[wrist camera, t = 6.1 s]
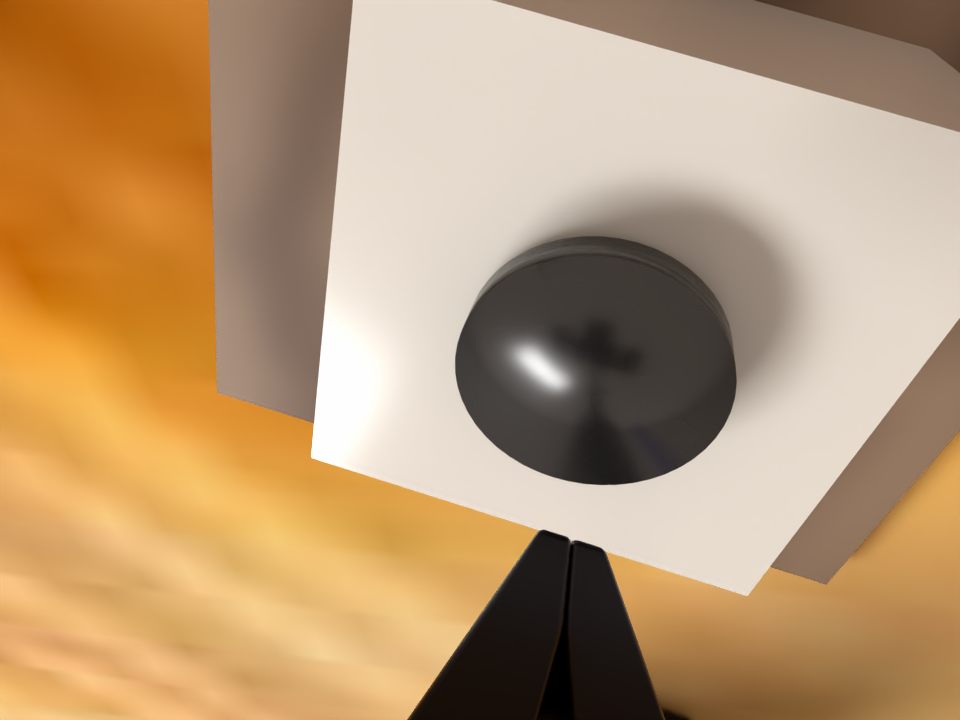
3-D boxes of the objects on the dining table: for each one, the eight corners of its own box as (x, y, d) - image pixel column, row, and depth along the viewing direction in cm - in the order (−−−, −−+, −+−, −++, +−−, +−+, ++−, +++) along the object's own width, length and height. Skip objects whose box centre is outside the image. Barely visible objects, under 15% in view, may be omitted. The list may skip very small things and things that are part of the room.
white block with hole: (929, 48, 15) (1076, 165, 9) (728, 402, 21) (747, 596, 15) (468, -80, 15) (356, -39, 10) (402, 303, 21) (310, 457, 16)
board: (1489, -244, 12) (1549, -251, 11) (821, 560, 25) (826, 584, 24) (224, -559, 13) (195, -586, 12) (230, 375, 26) (217, 392, 25)
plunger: (747, 143, 16) (790, 312, 10) (672, 308, 19) (672, 514, 13) (553, 87, 16) (486, 221, 11) (507, 258, 19) (433, 439, 13)
